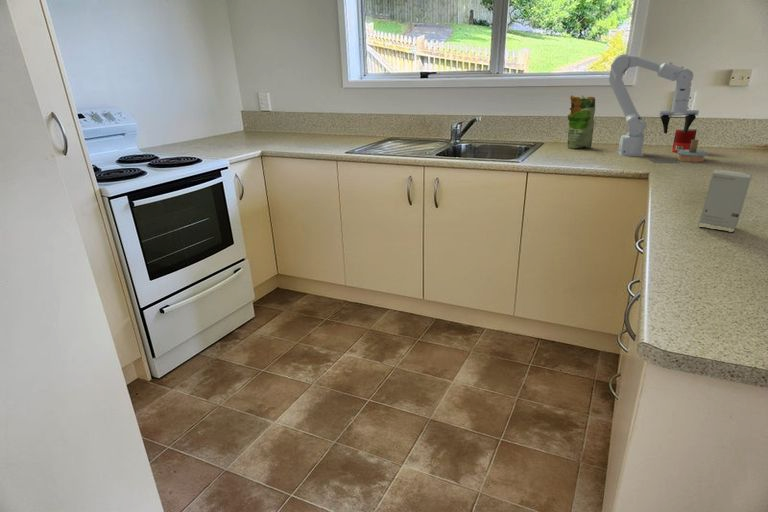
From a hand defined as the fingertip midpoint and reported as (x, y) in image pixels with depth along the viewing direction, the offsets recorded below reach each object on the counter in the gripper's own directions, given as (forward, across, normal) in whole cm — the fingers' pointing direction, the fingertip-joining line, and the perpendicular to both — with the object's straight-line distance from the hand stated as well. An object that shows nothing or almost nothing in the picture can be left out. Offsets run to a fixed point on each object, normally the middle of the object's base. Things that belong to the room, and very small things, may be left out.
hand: (675, 133), depth 207 cm
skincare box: (+11, -15, -96) cm, 98 cm away
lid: (+8, +6, -7) cm, 12 cm away
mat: (+10, -5, -9) cm, 15 cm away
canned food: (+11, +8, +11) cm, 17 cm away
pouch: (+10, -35, +23) cm, 43 cm away
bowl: (+10, +6, -7) cm, 14 cm away
